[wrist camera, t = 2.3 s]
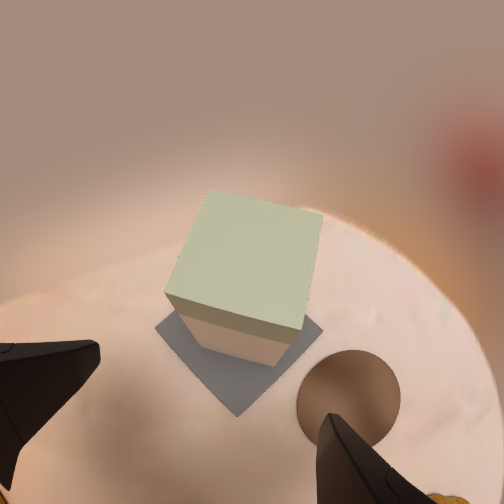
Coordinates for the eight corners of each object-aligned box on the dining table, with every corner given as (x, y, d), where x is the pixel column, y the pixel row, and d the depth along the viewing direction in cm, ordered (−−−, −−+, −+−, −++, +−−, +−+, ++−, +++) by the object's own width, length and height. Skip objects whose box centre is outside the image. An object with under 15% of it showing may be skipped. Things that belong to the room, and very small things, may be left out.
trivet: (350, 472, 18) (353, 473, 17) (273, 408, 21) (274, 408, 20) (414, 391, 21) (417, 391, 21) (345, 330, 24) (347, 328, 24)
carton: (273, 367, 22) (301, 330, 12) (201, 346, 23) (164, 292, 12) (290, 299, 25) (323, 214, 15) (223, 282, 26) (209, 189, 15)
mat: (237, 416, 20) (237, 417, 20) (155, 328, 24) (154, 327, 23) (322, 331, 24) (323, 330, 24) (240, 257, 27) (240, 255, 27)
